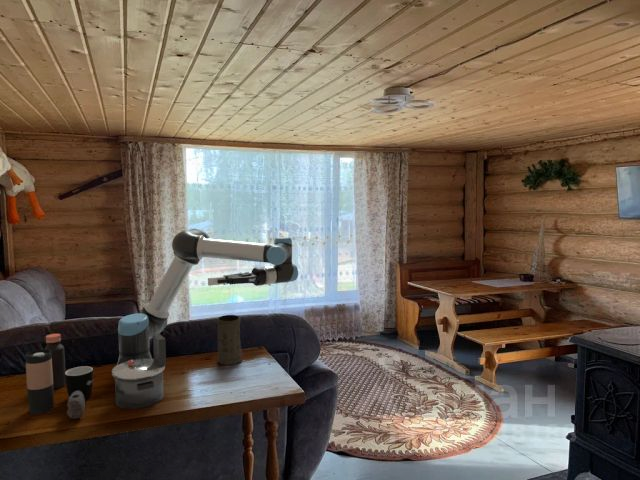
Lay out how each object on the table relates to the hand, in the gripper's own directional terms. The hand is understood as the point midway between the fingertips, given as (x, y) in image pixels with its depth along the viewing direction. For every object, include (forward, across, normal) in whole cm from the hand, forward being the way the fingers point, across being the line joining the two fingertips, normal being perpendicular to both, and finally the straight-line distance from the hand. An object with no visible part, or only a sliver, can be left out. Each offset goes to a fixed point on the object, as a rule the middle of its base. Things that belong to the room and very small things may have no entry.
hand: (208, 281), depth 174 cm
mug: (+44, +15, -40) cm, 61 cm away
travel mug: (+57, +10, -40) cm, 70 cm away
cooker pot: (+27, 0, -40) cm, 48 cm away
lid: (+27, 0, -30) cm, 40 cm away
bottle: (+51, +30, -40) cm, 72 cm away
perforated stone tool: (+47, +1, -40) cm, 62 cm away
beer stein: (-17, +19, -40) cm, 47 cm away
